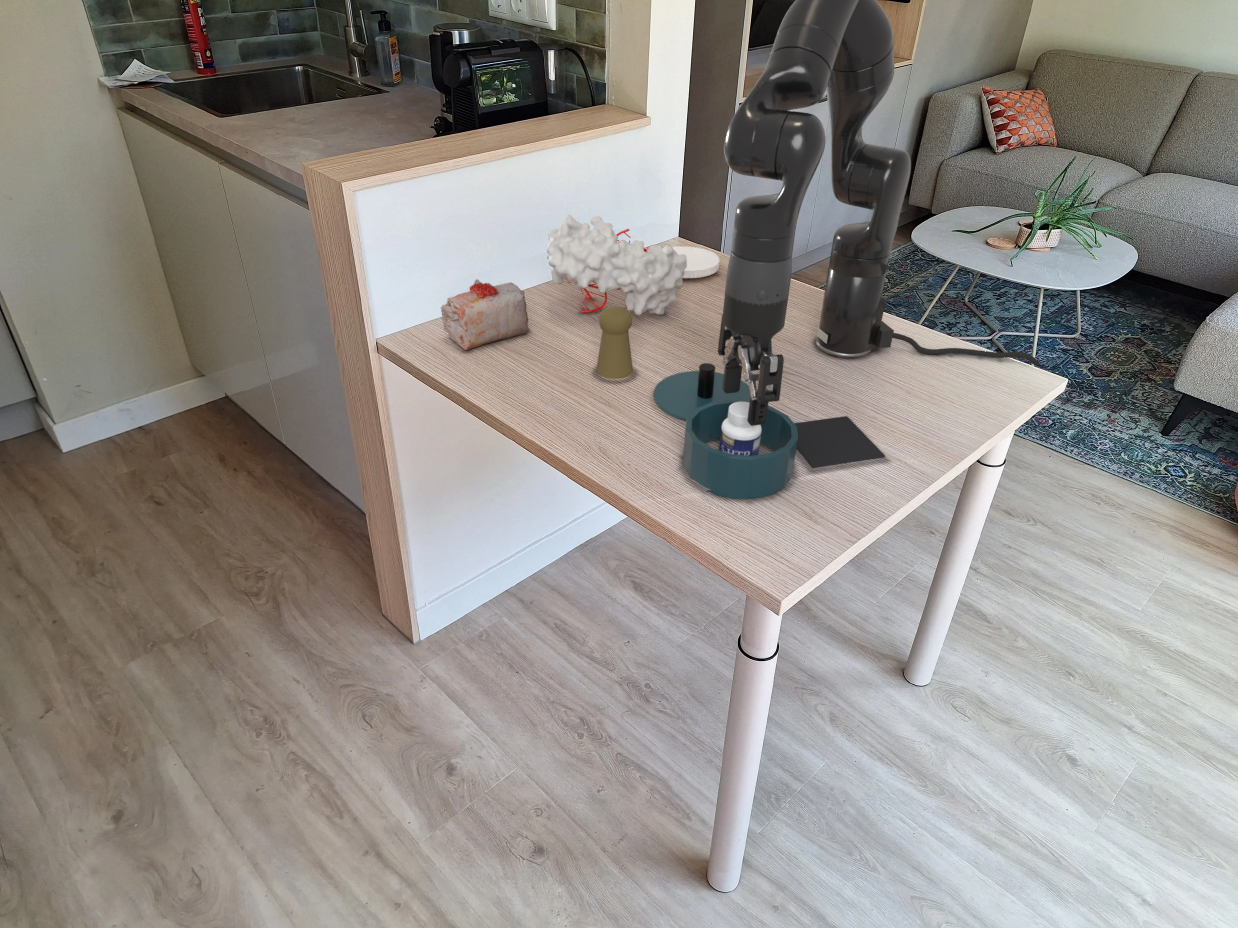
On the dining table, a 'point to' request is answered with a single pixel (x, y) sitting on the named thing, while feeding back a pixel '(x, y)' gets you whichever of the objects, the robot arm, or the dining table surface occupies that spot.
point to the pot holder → (834, 442)
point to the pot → (739, 471)
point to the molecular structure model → (615, 265)
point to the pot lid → (694, 391)
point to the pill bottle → (739, 432)
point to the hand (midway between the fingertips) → (743, 407)
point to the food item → (485, 314)
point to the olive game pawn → (615, 343)
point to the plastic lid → (698, 261)
